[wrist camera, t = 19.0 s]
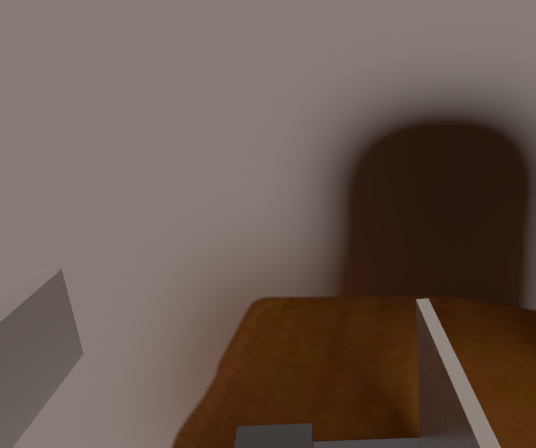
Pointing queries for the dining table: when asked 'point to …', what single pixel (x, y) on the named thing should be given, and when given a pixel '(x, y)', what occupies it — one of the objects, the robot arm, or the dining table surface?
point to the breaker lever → (275, 436)
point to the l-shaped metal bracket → (437, 397)
